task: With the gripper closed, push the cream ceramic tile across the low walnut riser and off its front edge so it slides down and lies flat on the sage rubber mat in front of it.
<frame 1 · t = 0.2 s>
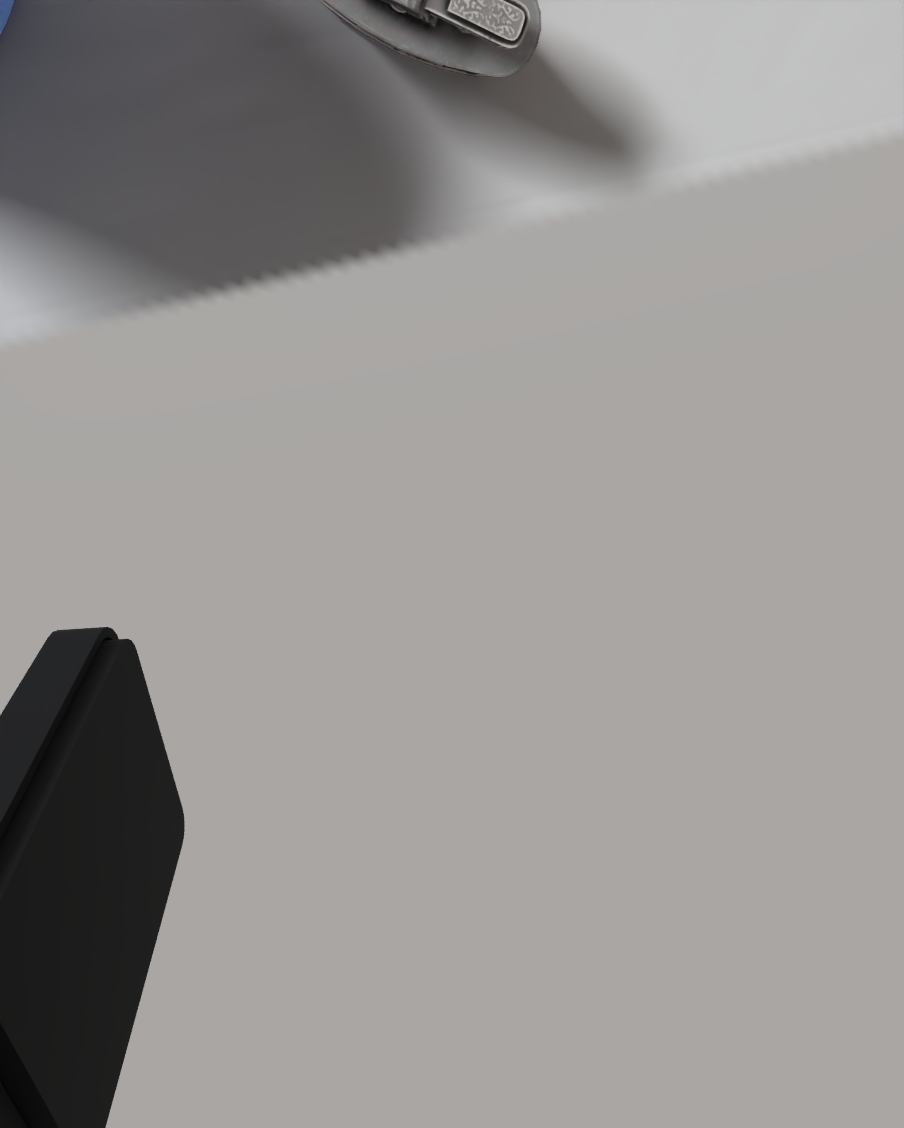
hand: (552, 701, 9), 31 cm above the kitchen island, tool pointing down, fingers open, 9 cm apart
lighter: (413, 5, 32), on the kitchen island
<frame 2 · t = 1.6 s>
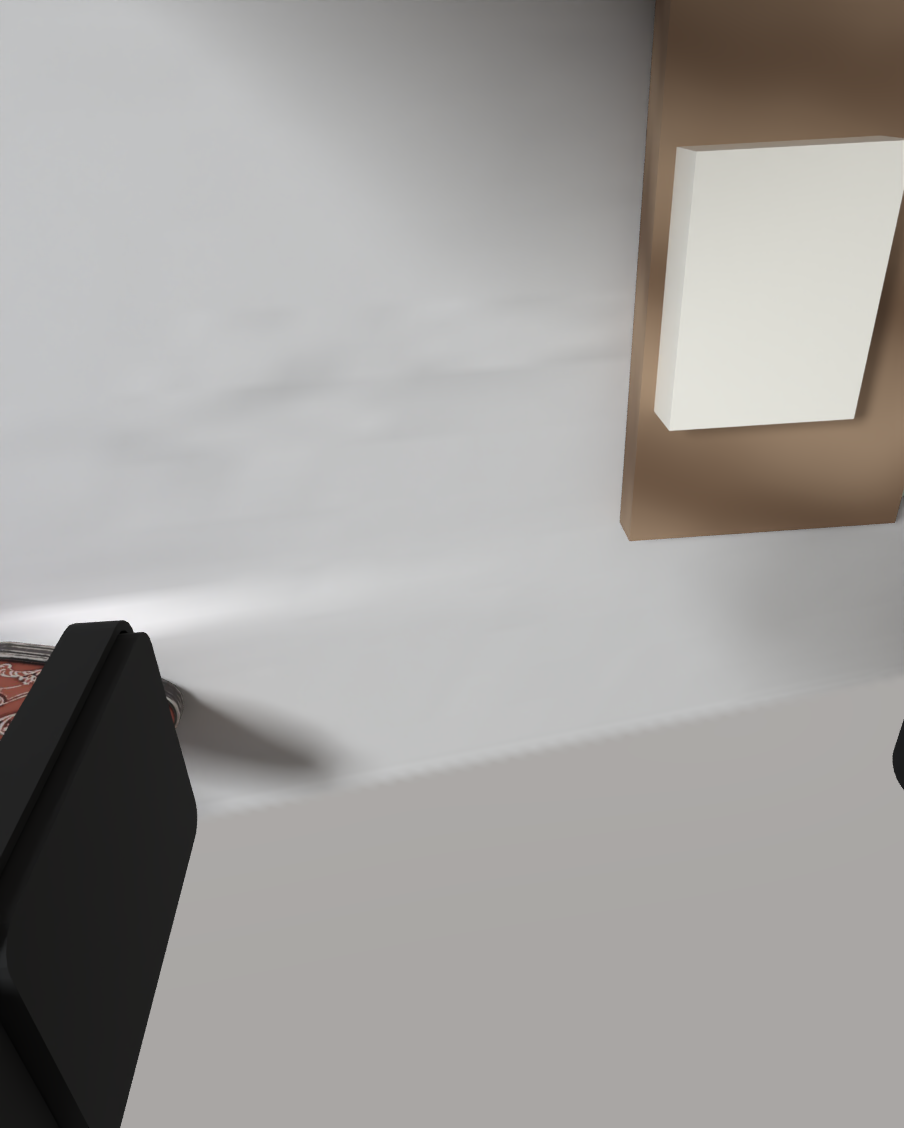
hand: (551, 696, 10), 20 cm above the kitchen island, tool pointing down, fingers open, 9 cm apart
lighter: (87, 682, 34), on the kitchen island
tile: (770, 290, 25), point 2 cm above the kitchen island, touching riser
riser: (786, 271, 27), on the kitchen island
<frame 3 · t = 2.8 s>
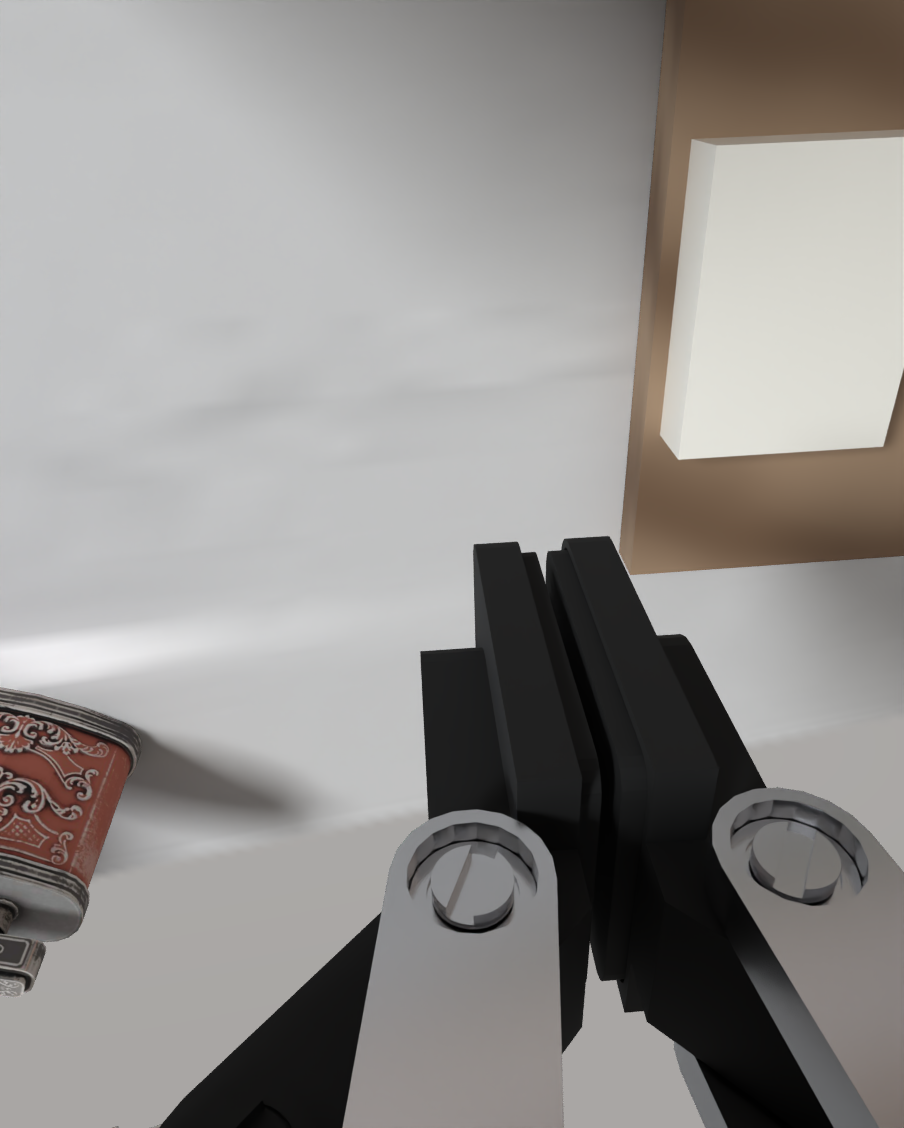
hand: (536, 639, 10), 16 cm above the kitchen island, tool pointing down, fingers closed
lighter: (33, 723, 31), on the kitchen island
tile: (793, 303, 22), point 2 cm above the kitchen island, touching riser
riser: (808, 279, 24), on the kitchen island
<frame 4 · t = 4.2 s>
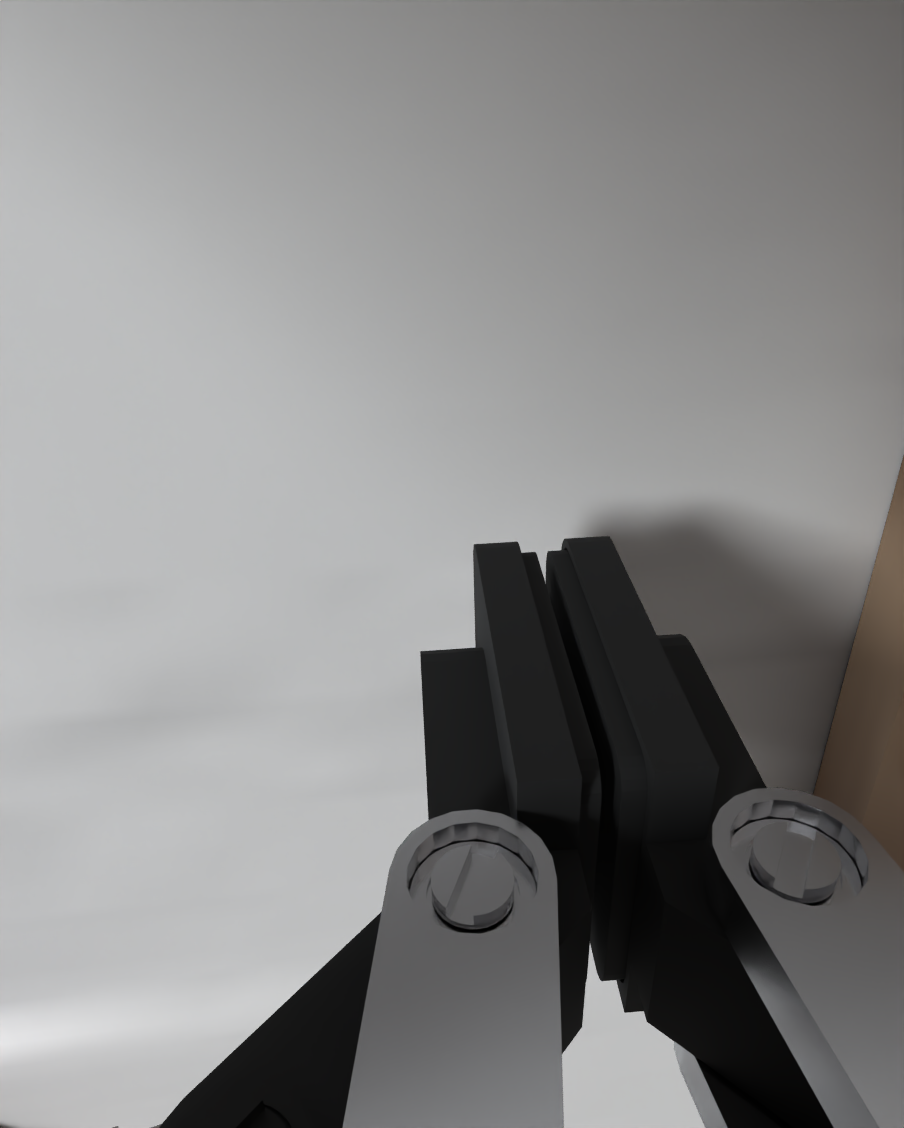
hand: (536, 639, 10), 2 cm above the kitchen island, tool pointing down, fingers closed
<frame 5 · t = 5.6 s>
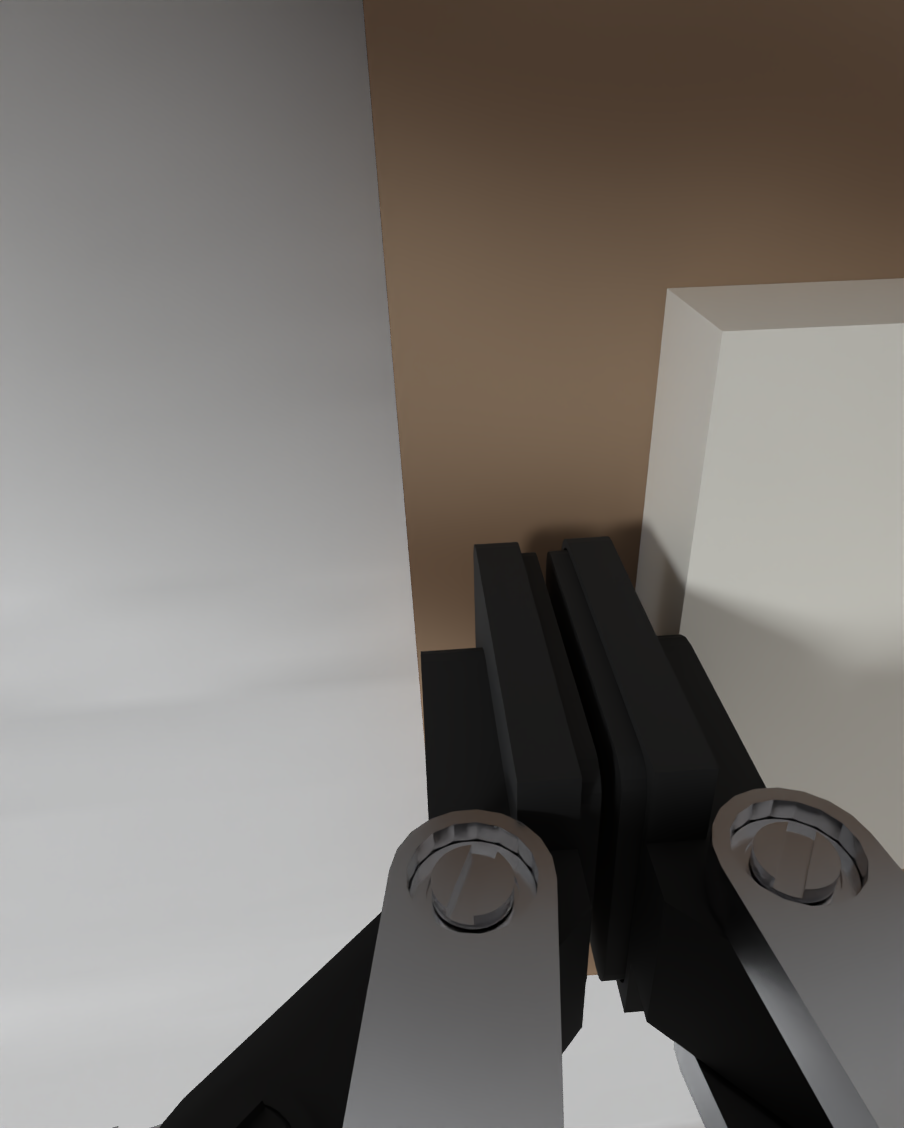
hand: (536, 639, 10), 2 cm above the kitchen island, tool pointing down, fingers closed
tile: (881, 611, 11), point 2 cm above the kitchen island
riser: (734, 523, 13), on the kitchen island
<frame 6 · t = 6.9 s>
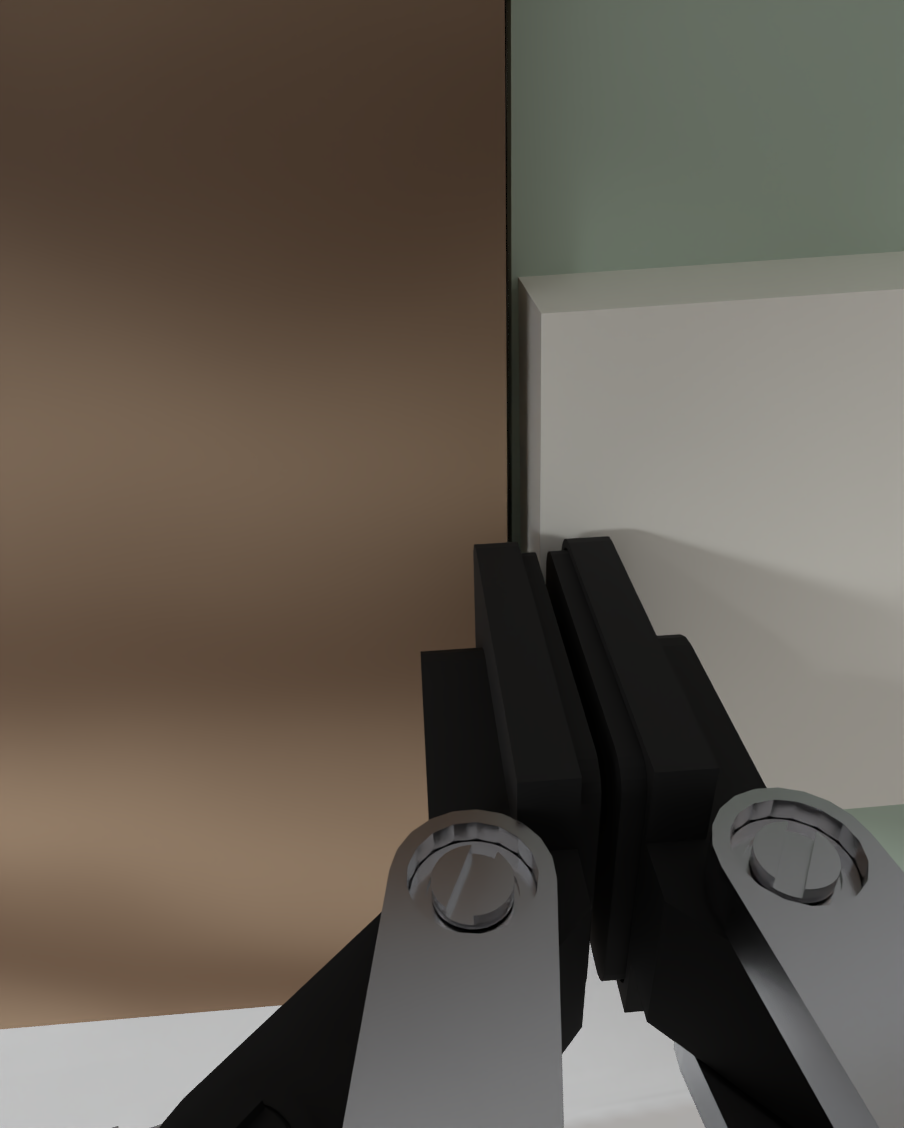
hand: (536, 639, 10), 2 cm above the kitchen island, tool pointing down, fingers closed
tile: (741, 571, 12), point 1 cm above the kitchen island, touching mat
riser: (165, 565, 12), on the kitchen island
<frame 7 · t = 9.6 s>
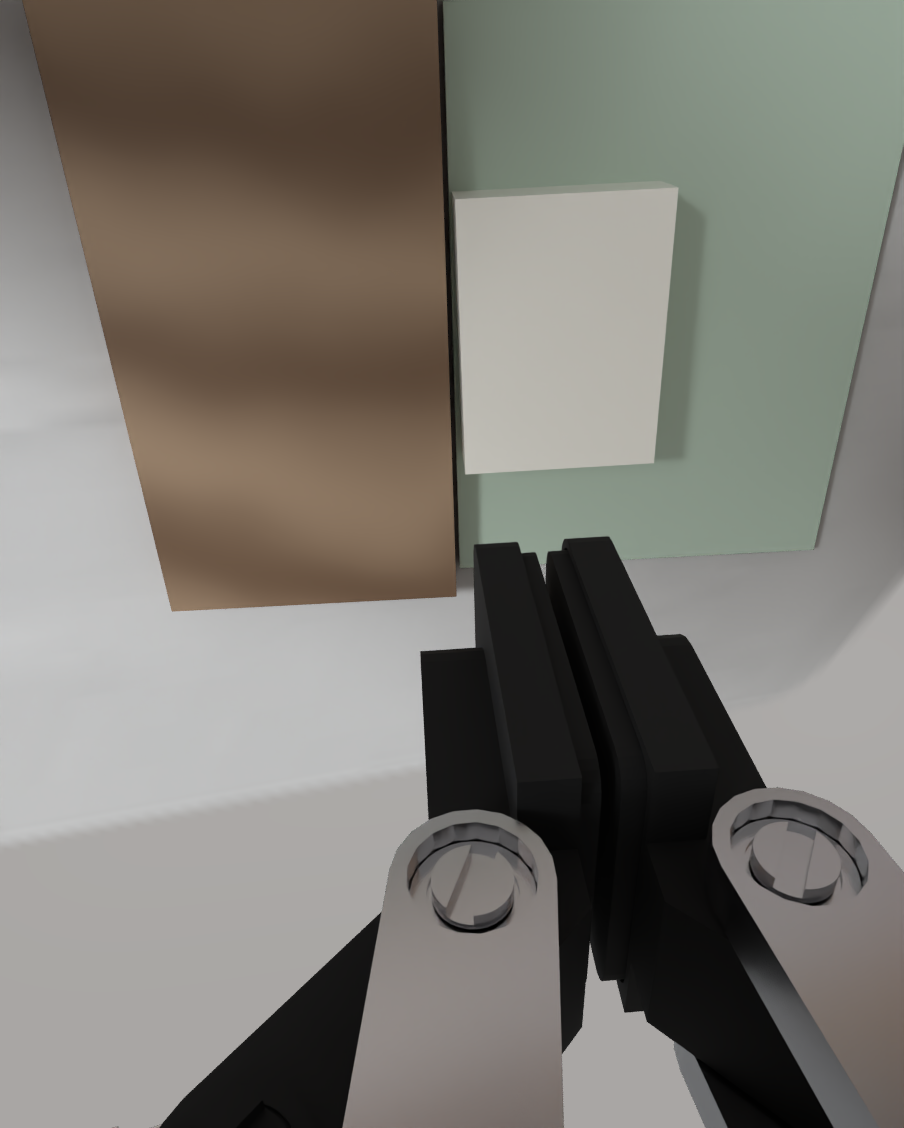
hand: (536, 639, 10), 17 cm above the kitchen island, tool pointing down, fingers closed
mat: (657, 320, 26), on the kitchen island
tile: (558, 334, 25), point 1 cm above the kitchen island, touching mat
riser: (286, 336, 26), on the kitchen island
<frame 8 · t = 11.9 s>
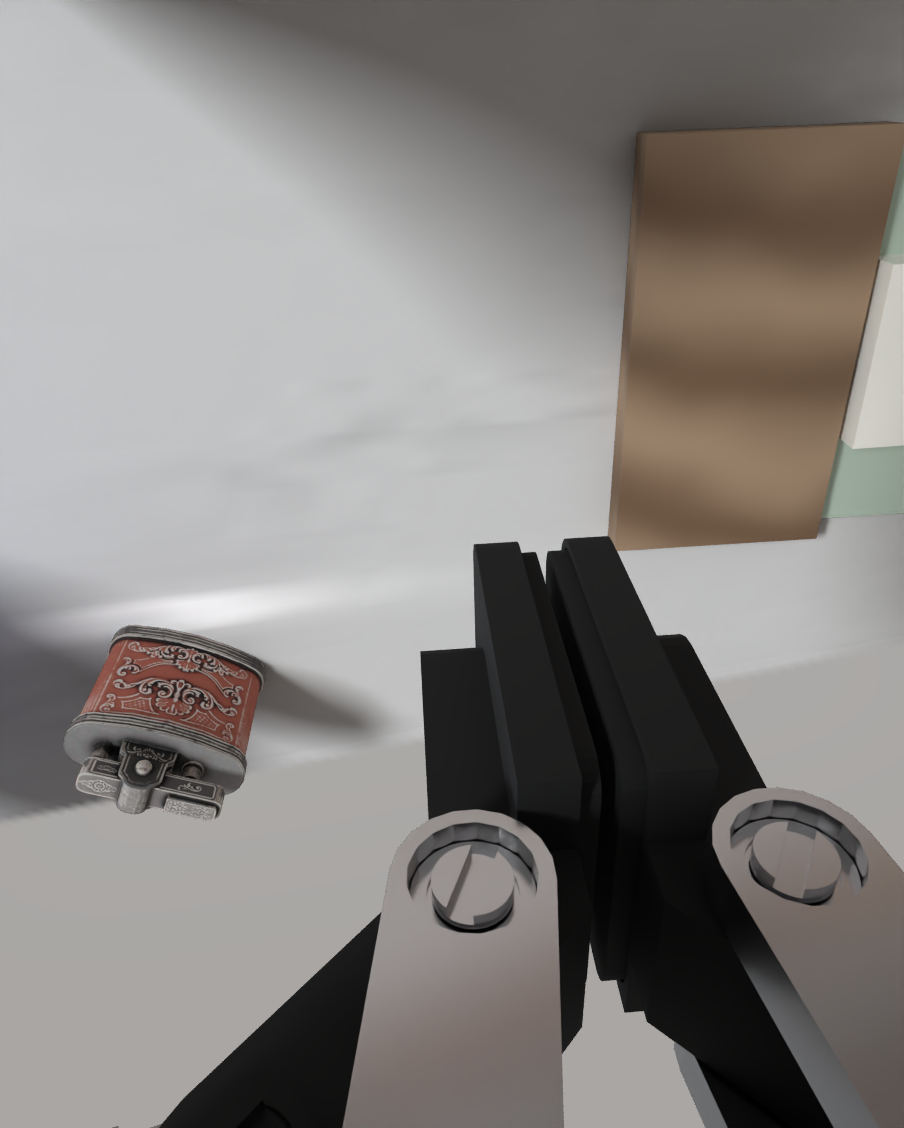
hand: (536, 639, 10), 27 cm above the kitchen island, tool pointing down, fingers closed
lighter: (191, 657, 44), on the kitchen island
riser: (730, 353, 37), on the kitchen island
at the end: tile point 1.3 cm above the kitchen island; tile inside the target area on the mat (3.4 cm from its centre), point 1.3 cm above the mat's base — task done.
